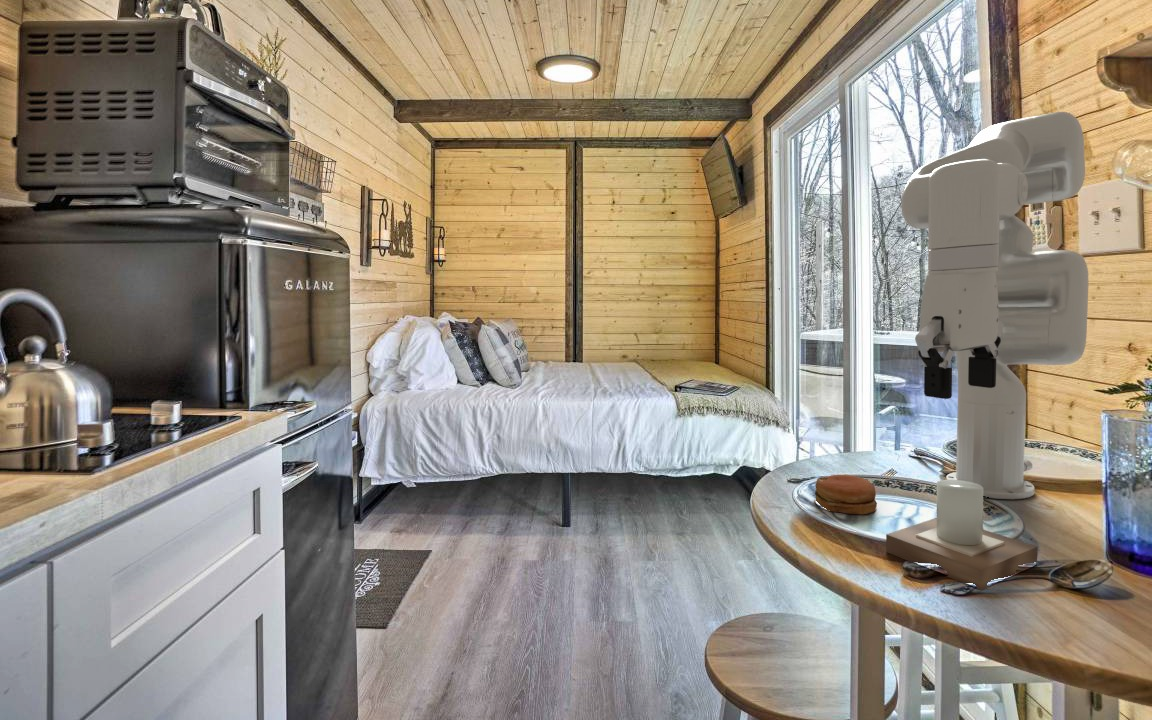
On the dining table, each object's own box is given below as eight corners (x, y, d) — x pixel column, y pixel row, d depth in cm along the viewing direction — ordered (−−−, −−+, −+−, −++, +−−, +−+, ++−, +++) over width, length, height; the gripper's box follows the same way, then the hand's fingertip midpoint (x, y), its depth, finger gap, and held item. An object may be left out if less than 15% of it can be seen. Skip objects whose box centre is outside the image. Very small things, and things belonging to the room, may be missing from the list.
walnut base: (940, 532, 82) (941, 514, 82) (1036, 565, 72) (1037, 544, 71) (886, 551, 77) (886, 532, 77) (981, 590, 66) (981, 567, 66)
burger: (886, 517, 89) (886, 488, 89) (824, 516, 91) (824, 488, 90) (863, 495, 99) (863, 469, 99) (807, 496, 100) (807, 470, 100)
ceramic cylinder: (951, 527, 77) (951, 477, 77) (991, 539, 73) (991, 487, 72) (928, 535, 75) (928, 483, 75) (967, 548, 71) (968, 493, 70)
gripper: (970, 260, 80) (968, 379, 82) (891, 267, 73) (891, 397, 75) (1032, 256, 73) (1028, 386, 76) (952, 262, 66) (950, 406, 68)
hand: (960, 391), depth 75 cm, fingers open, 9 cm apart
